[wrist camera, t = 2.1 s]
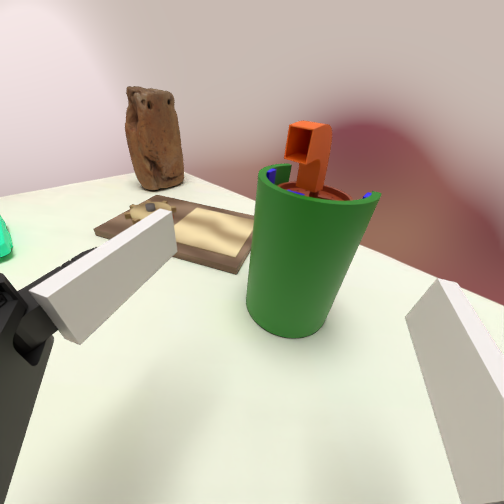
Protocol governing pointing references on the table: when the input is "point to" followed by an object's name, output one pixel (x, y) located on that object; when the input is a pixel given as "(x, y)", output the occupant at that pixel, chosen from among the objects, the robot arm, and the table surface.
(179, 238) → the mounting board
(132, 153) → the block
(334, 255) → the motor
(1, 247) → the camera mount
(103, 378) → the table surface
